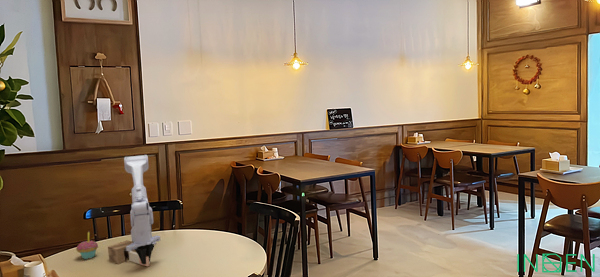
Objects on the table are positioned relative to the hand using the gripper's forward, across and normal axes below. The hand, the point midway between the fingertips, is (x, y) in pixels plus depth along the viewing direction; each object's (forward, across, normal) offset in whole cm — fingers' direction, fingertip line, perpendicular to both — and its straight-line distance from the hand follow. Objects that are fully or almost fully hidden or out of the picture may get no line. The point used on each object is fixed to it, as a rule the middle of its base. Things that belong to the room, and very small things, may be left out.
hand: (145, 262), depth 180 cm
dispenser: (+1, 0, +16) cm, 16 cm away
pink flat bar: (+1, 0, +5) cm, 5 cm away
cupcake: (+2, -7, +32) cm, 33 cm away
